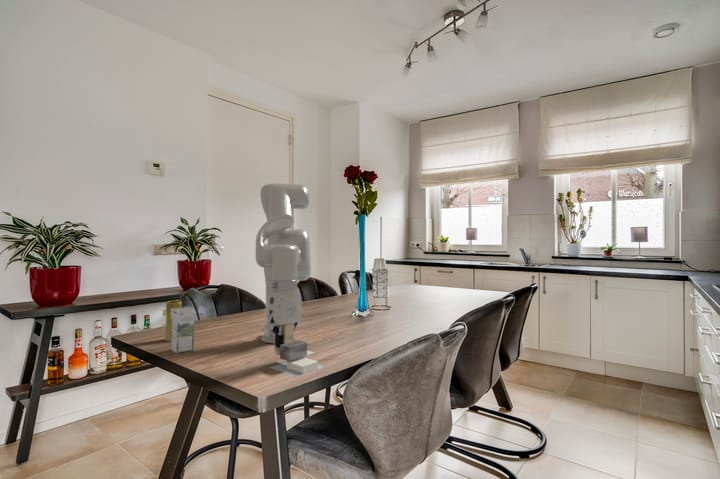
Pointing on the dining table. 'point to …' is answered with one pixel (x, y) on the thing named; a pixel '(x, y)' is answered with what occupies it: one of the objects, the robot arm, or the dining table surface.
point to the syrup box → (182, 329)
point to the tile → (302, 365)
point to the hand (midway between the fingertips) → (284, 345)
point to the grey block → (291, 345)
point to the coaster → (309, 353)
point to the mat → (283, 369)
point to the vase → (168, 317)
